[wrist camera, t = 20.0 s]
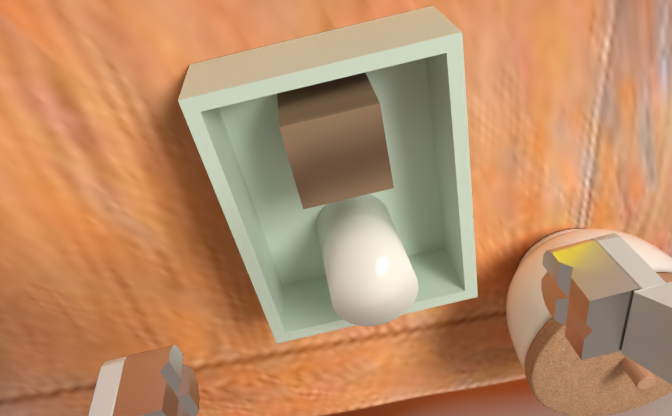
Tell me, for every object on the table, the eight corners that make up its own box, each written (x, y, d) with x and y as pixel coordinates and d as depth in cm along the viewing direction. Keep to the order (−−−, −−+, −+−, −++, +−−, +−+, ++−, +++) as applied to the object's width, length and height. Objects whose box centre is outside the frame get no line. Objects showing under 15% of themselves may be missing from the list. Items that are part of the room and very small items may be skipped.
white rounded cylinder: (303, 214, 34) (315, 284, 28) (372, 179, 34) (398, 244, 28) (336, 264, 37) (353, 338, 31) (400, 233, 36) (430, 303, 30)
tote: (275, 291, 39) (276, 343, 34) (189, 64, 28) (177, 100, 24) (454, 249, 38) (477, 296, 34) (432, 5, 28) (462, 31, 24)
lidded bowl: (670, 202, 38) (797, 310, 29) (599, 323, 45) (683, 441, 36) (512, 192, 36) (597, 306, 27) (462, 321, 43) (516, 446, 34)
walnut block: (276, 88, 29) (279, 127, 25) (363, 67, 29) (380, 103, 25) (297, 163, 32) (303, 209, 28) (376, 144, 32) (393, 188, 28)
